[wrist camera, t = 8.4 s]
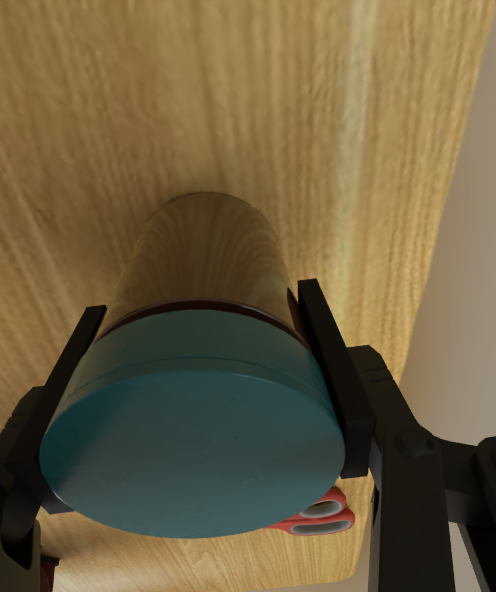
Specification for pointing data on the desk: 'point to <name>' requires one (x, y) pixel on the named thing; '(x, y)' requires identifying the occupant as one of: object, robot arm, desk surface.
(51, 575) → the mate gourd
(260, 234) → the jar
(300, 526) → the scissors
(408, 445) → the robot arm
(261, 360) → the lid
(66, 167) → the desk surface
